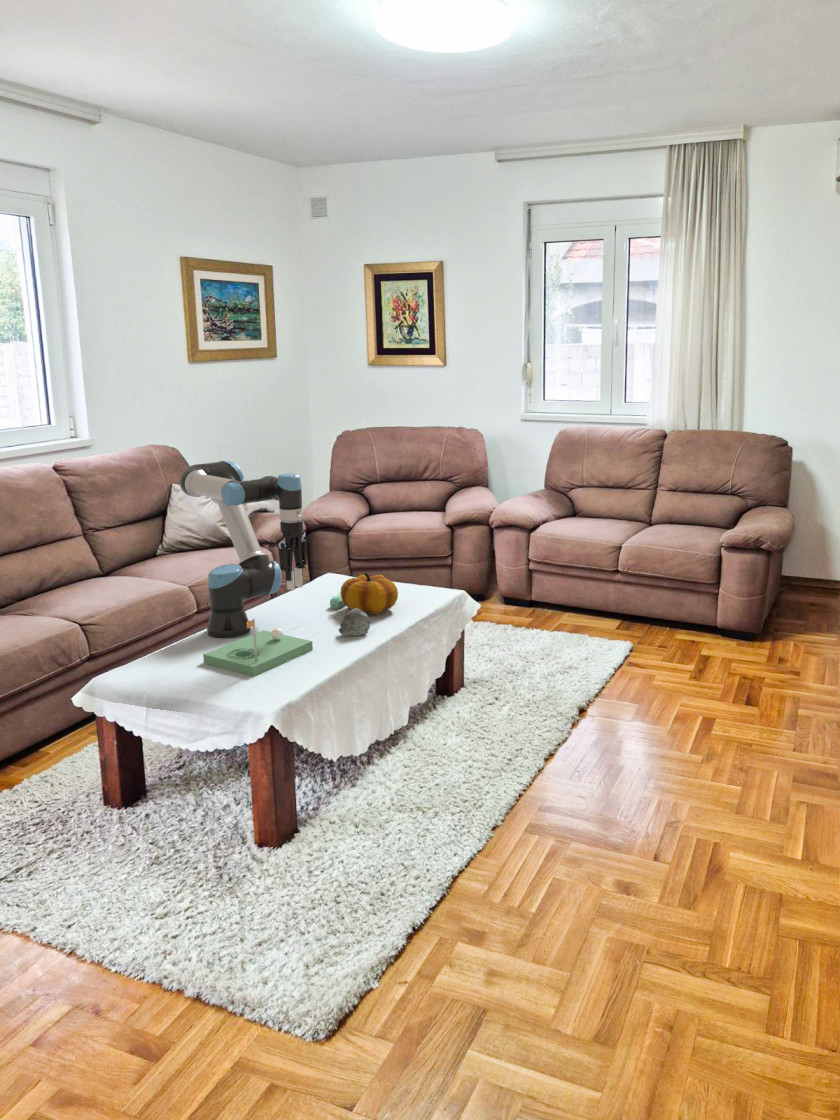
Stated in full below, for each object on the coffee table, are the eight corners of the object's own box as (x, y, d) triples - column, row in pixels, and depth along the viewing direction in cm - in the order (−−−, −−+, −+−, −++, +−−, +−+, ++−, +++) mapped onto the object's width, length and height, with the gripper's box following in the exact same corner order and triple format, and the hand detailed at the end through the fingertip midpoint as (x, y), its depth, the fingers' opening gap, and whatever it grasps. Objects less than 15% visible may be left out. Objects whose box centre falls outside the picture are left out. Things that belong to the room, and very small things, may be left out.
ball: (268, 640, 306) (268, 629, 305) (277, 637, 309) (276, 625, 308) (277, 642, 304) (277, 631, 303) (285, 639, 307) (285, 627, 306)
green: (264, 638, 317) (261, 591, 313) (312, 649, 305) (310, 600, 301) (203, 662, 295) (199, 612, 291) (253, 676, 283) (250, 623, 279)
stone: (353, 610, 314) (360, 601, 323) (332, 626, 317) (340, 617, 326) (371, 630, 315) (378, 621, 324) (351, 647, 318) (358, 637, 327)
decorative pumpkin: (354, 622, 333) (352, 582, 330) (335, 606, 353) (333, 568, 349) (405, 614, 341) (404, 575, 337) (383, 599, 361) (382, 562, 357)
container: (336, 595, 347) (366, 577, 369) (324, 599, 350) (354, 581, 372) (342, 609, 347) (372, 590, 369) (330, 613, 350) (360, 594, 372)
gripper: (283, 526, 296) (287, 595, 302) (316, 517, 310) (319, 583, 315) (266, 523, 301) (270, 592, 306) (299, 515, 314) (302, 580, 320)
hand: (294, 587), depth 311 cm, fingers open, 3 cm apart
